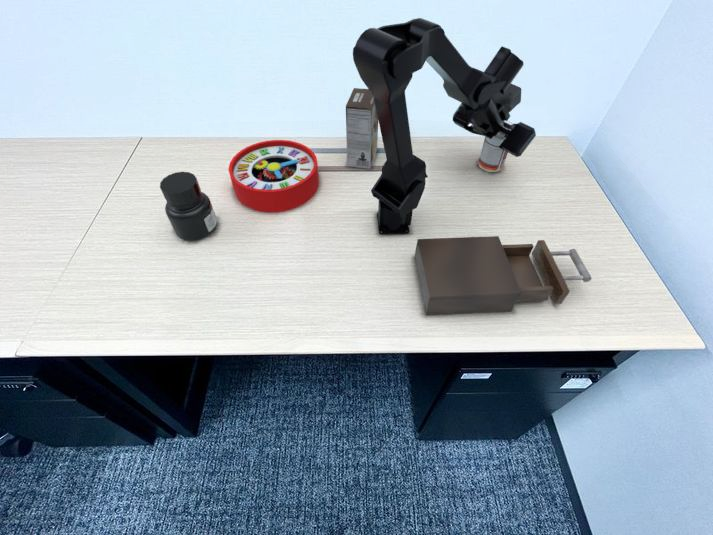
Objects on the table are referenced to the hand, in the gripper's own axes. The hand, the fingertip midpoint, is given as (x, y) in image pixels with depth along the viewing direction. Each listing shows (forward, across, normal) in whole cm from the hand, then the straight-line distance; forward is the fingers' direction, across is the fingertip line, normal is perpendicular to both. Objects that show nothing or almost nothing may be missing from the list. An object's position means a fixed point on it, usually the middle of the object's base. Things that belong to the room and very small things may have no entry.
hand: (500, 140), depth 96 cm
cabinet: (-20, -20, +30) cm, 42 cm away
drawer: (-14, -28, +23) cm, 38 cm away
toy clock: (-28, +27, +38) cm, 55 cm away
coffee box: (-12, +23, +22) cm, 34 cm away
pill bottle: (+4, 0, +6) cm, 7 cm away
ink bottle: (-43, +25, +54) cm, 73 cm away
